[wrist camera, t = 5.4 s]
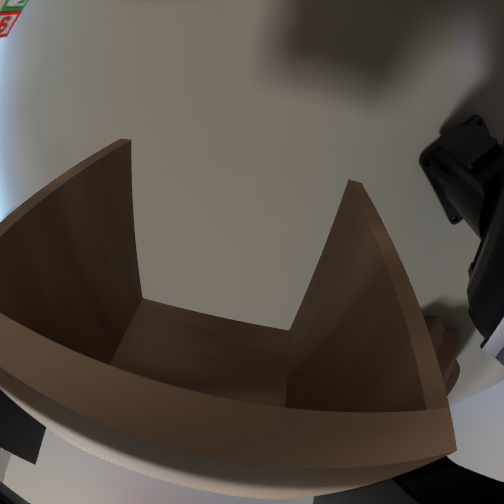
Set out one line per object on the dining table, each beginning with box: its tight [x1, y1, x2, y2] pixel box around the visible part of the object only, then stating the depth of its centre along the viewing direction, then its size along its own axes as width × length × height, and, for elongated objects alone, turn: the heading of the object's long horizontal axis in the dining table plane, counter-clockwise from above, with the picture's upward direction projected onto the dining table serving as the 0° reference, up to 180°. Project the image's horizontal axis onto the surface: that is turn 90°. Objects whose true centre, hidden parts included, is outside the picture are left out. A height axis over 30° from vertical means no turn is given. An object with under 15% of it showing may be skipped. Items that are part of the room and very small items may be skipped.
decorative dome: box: [424, 316, 460, 396], centre depth 26 cm, size 19×20×10 cm
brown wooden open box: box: [0, 139, 457, 500], centre depth 7 cm, size 7×7×7 cm
